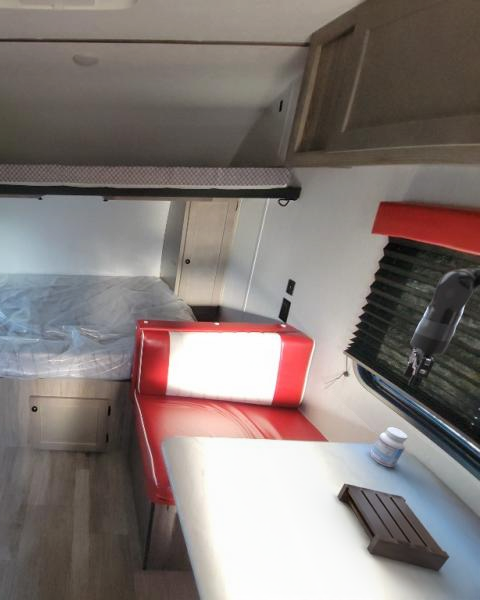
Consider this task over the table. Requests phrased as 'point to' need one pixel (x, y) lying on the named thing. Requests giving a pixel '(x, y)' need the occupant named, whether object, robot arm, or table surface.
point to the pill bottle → (389, 447)
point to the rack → (393, 527)
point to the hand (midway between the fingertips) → (410, 381)
